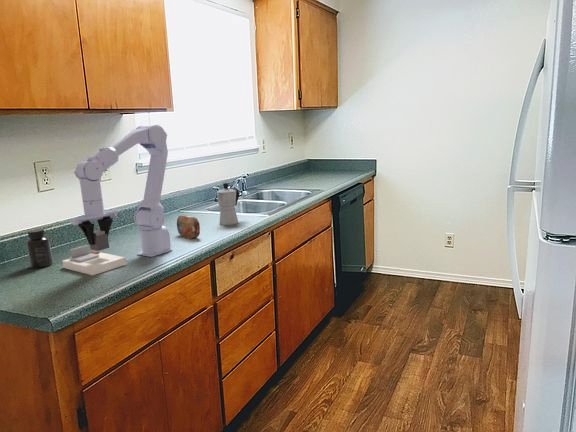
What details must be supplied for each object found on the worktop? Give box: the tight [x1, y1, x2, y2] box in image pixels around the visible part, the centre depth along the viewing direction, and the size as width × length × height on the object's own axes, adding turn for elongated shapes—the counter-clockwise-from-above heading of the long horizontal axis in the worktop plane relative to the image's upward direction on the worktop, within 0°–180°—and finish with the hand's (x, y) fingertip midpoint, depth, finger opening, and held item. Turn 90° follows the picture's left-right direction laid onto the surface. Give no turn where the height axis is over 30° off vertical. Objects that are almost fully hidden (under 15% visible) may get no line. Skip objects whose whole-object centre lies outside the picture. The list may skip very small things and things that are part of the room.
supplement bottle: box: [25, 228, 54, 269], centre depth 154 cm, size 7×7×12 cm
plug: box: [89, 229, 110, 252], centre depth 146 cm, size 4×4×6 cm
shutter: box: [68, 244, 99, 262], centre depth 151 cm, size 7×7×3 cm
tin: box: [176, 215, 201, 240], centre depth 184 cm, size 15×3×8 cm, turn 40°
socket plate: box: [62, 250, 127, 276], centre depth 150 cm, size 12×17×3 cm
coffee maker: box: [215, 182, 240, 227], centre depth 204 cm, size 15×9×18 cm, turn 148°
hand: (98, 242), depth 146 cm, fingers closed on plug, 4 cm apart
